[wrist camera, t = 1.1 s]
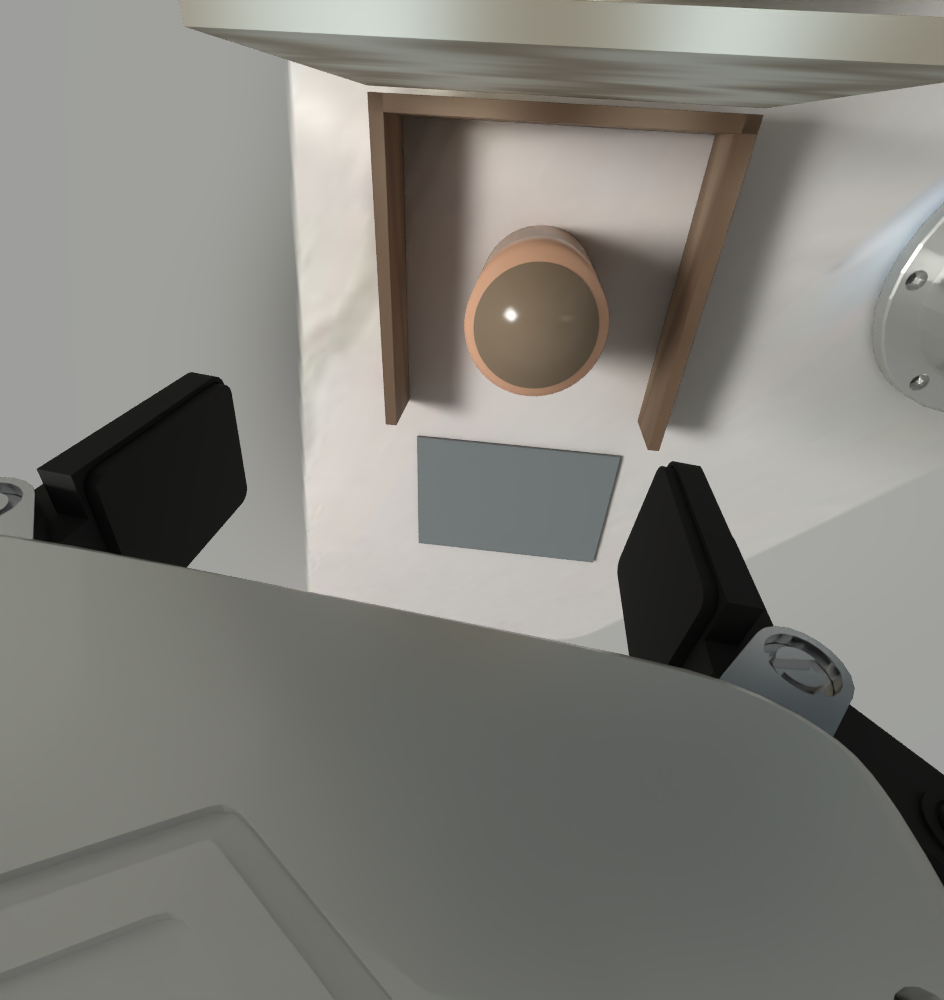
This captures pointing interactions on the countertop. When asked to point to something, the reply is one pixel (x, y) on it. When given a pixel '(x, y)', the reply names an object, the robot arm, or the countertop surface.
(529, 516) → the potting mat
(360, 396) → the countertop surface
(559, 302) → the flowerpot
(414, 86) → the wooden bench
